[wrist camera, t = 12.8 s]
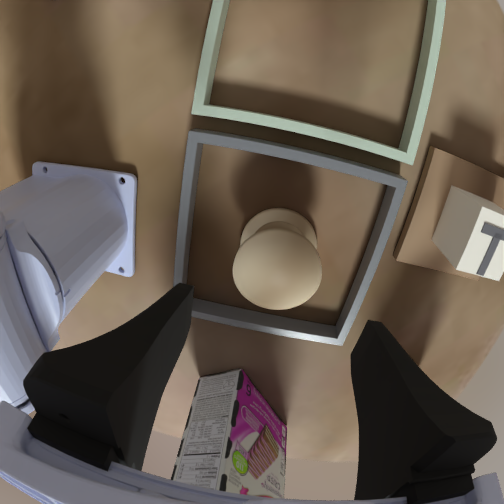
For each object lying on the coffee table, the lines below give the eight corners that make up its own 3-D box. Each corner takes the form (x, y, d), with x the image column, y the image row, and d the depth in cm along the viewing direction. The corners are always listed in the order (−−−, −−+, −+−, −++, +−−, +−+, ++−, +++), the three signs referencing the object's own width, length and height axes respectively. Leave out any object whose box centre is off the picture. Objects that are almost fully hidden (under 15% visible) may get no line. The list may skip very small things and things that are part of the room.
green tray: (198, 112, 18) (191, 113, 17) (237, -67, 12) (234, -78, 11) (404, 160, 18) (412, 165, 17) (438, -16, 12) (448, -22, 11)
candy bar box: (290, 426, 31) (282, 564, 17) (249, 433, 33) (231, 563, 18) (244, 364, 27) (213, 545, 13) (196, 375, 28) (150, 536, 14)
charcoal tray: (177, 300, 24) (172, 311, 23) (195, 128, 18) (188, 130, 17) (339, 332, 24) (342, 345, 23) (399, 174, 18) (407, 181, 17)
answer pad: (392, 255, 21) (396, 260, 20) (430, 145, 17) (435, 147, 17) (474, 275, 21) (478, 280, 20) (511, 182, 17) (517, 186, 17)
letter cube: (431, 239, 19) (456, 270, 16) (451, 185, 17) (483, 207, 14) (472, 252, 19) (499, 281, 16) (492, 202, 17) (525, 225, 14)
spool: (235, 267, 23) (226, 300, 19) (248, 200, 20) (240, 223, 17) (305, 281, 23) (308, 316, 19) (325, 216, 20) (333, 243, 17)
